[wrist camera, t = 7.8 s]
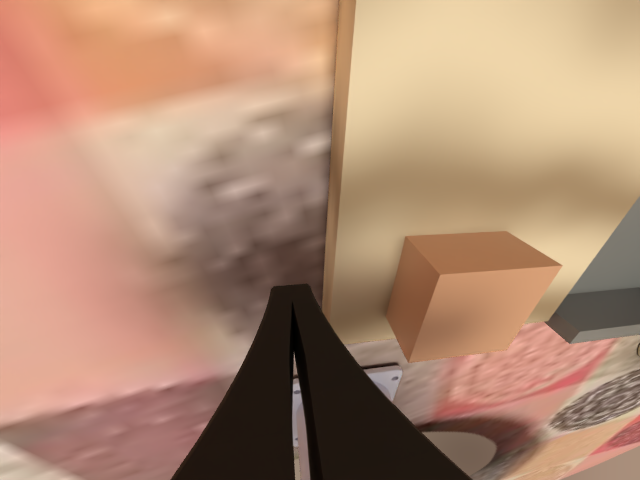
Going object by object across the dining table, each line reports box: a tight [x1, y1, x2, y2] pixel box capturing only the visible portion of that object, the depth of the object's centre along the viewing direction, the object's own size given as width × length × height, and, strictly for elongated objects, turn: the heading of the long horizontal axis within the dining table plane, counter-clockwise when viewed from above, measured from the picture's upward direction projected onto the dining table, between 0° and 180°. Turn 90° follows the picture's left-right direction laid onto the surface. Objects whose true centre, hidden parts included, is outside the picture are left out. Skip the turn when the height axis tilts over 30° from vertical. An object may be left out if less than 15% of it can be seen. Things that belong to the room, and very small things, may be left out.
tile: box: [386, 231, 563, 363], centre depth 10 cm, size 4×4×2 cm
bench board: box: [322, 0, 640, 344], centre depth 10 cm, size 15×13×2 cm
